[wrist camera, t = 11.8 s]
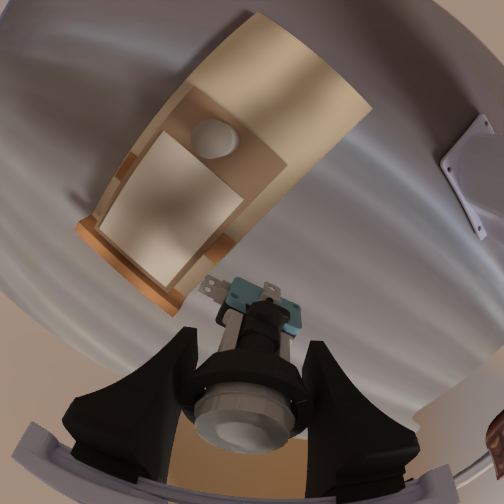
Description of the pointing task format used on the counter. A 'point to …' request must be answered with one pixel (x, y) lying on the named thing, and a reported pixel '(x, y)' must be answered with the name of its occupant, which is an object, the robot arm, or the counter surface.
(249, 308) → the push button
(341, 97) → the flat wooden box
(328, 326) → the counter surface
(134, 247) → the carriage
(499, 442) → the pottery
